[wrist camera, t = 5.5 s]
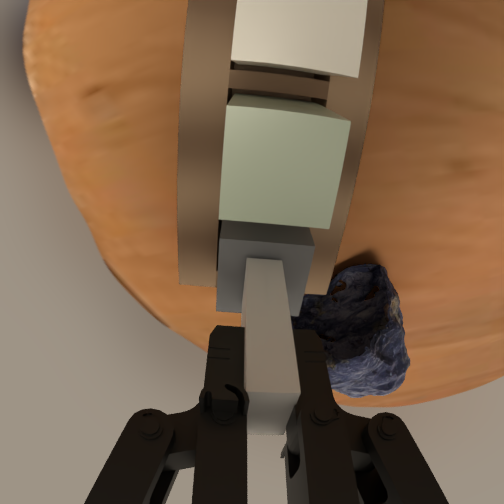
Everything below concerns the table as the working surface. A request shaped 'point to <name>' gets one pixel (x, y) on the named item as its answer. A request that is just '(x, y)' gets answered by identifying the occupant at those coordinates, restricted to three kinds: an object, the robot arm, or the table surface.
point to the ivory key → (300, 35)
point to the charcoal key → (262, 247)
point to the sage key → (281, 161)
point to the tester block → (213, 126)
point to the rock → (359, 332)
